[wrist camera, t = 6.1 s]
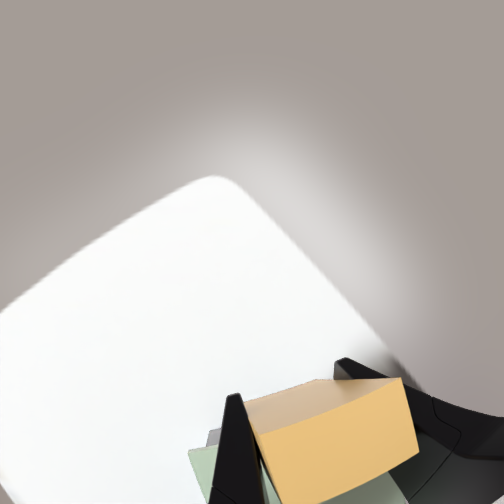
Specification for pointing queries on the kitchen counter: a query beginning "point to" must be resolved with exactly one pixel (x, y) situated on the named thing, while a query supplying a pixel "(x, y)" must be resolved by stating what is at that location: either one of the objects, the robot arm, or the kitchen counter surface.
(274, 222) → the kitchen counter surface
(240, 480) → the robot arm
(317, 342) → the kitchen counter surface
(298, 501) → the lid
